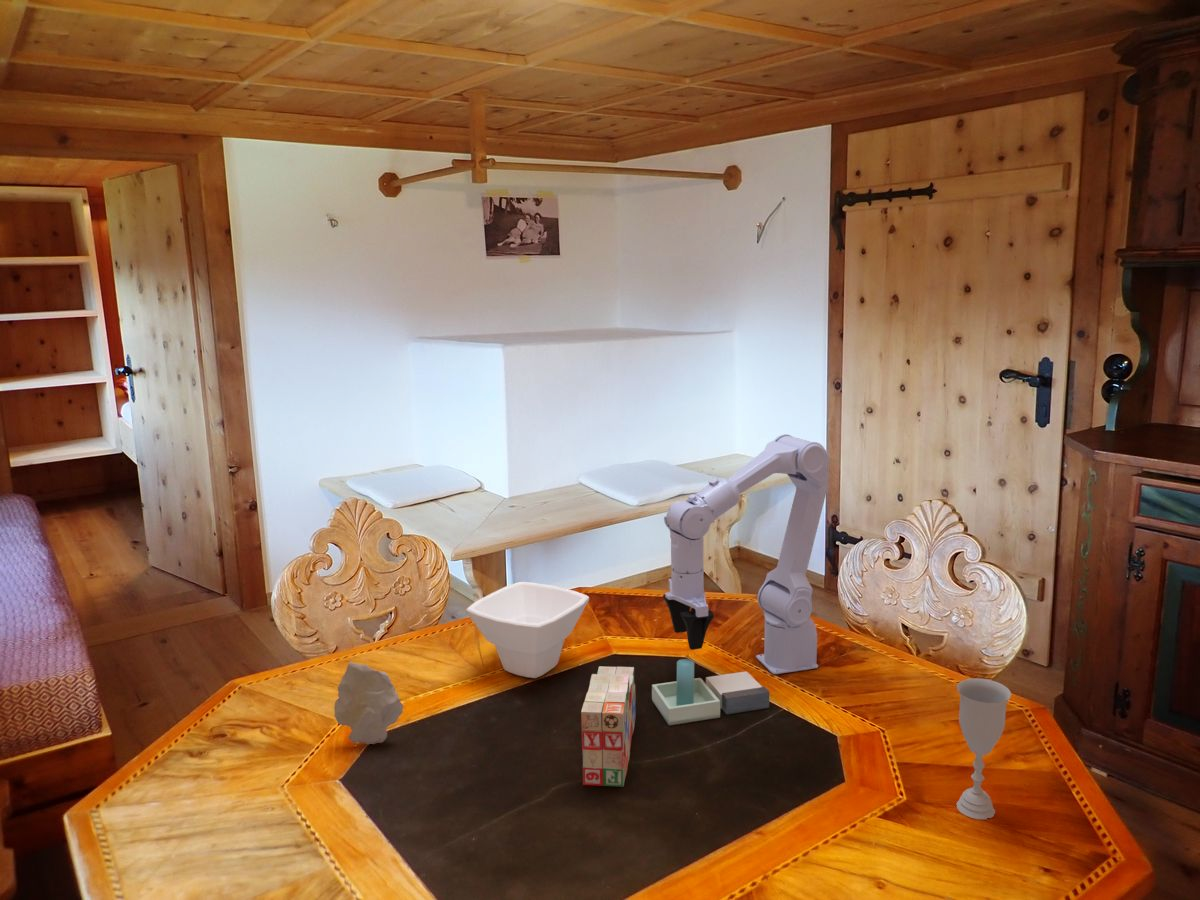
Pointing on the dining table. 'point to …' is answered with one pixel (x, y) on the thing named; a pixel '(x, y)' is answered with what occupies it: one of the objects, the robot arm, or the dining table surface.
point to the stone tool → (367, 703)
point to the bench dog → (745, 700)
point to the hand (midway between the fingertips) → (687, 639)
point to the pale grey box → (731, 683)
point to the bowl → (528, 624)
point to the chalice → (980, 736)
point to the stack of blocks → (608, 726)
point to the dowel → (685, 682)
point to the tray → (700, 710)
